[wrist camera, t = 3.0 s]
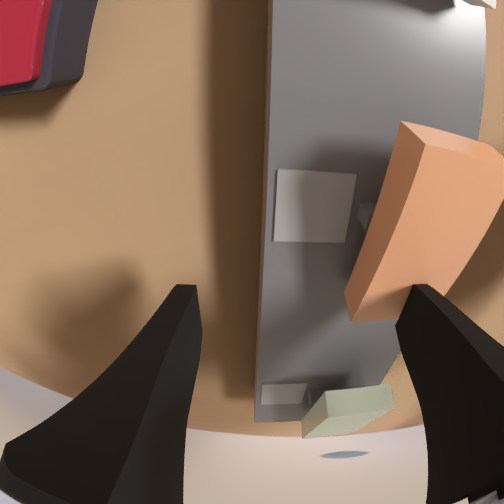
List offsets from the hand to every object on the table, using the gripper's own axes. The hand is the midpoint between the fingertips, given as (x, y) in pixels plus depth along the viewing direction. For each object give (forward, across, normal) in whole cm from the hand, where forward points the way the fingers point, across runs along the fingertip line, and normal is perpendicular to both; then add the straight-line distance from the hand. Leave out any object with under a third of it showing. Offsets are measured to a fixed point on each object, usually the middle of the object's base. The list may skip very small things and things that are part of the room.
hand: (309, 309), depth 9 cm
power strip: (+5, -3, -7) cm, 10 cm away
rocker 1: (+1, -4, +10) cm, 10 cm away
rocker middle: (+1, -4, -2) cm, 4 cm away
